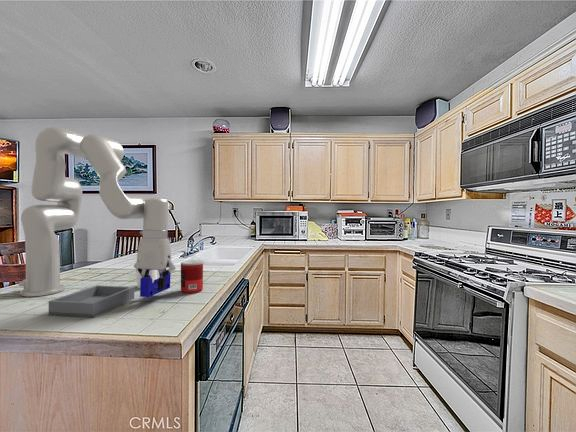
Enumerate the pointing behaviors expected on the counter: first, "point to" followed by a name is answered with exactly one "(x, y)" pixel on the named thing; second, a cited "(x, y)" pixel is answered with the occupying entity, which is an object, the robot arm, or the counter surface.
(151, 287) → the blue u-shaped block
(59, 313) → the tray
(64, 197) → the robot arm
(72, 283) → the counter surface
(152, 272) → the white cup
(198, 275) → the canned food
